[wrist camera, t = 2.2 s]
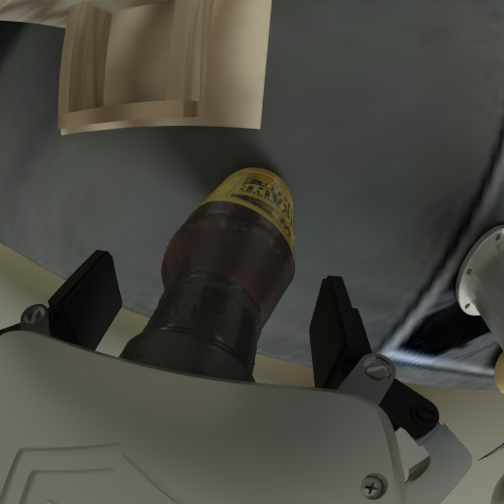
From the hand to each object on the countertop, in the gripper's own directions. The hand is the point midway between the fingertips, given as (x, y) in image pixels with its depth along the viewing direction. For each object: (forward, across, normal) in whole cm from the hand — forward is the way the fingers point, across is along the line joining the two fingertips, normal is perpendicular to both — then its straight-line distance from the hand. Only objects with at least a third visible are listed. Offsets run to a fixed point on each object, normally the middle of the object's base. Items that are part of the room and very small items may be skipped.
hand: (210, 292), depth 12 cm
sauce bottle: (+14, -1, 0) cm, 14 cm away
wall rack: (+14, +9, -13) cm, 21 cm away
